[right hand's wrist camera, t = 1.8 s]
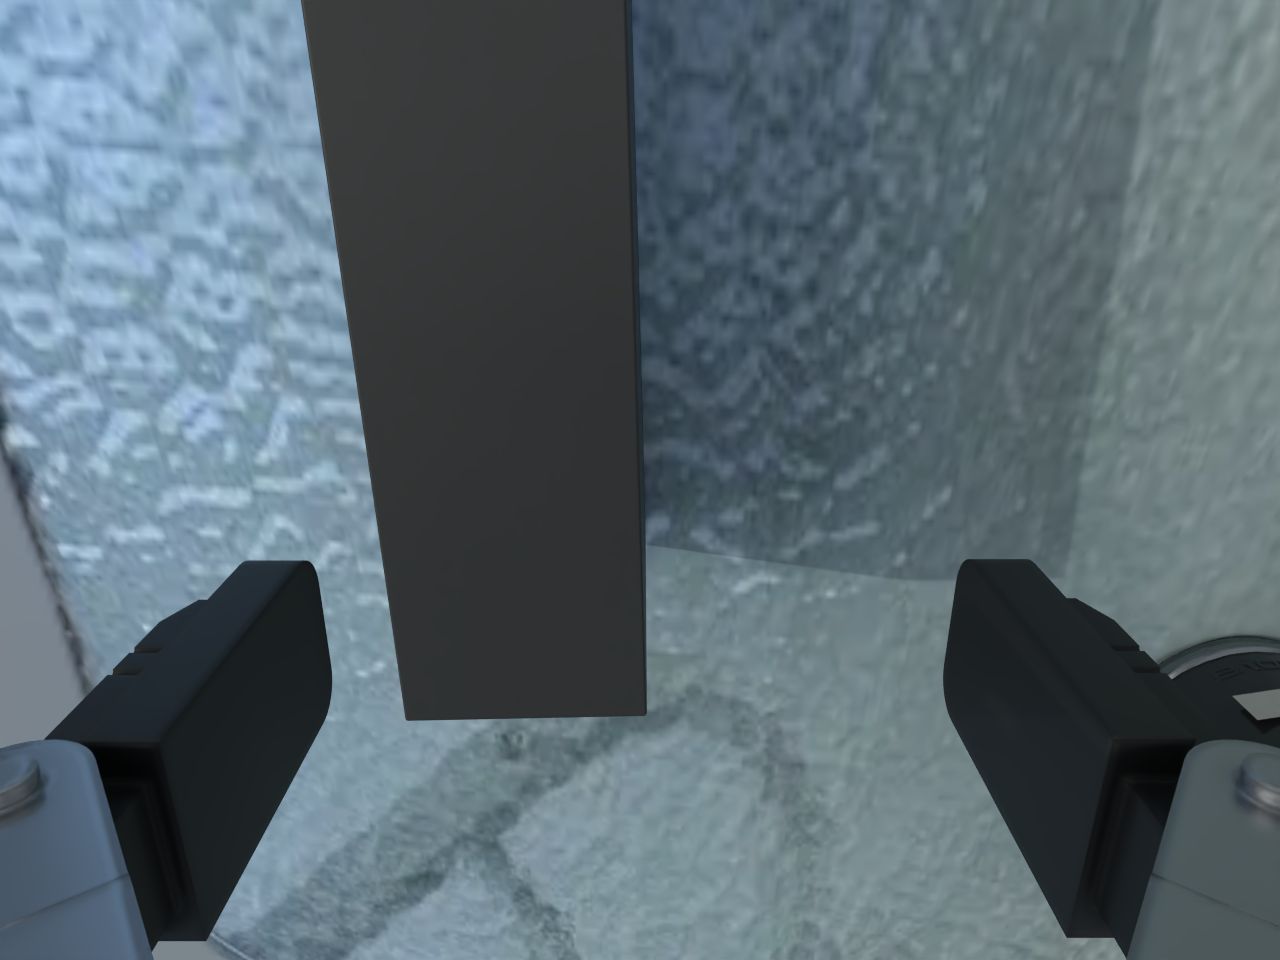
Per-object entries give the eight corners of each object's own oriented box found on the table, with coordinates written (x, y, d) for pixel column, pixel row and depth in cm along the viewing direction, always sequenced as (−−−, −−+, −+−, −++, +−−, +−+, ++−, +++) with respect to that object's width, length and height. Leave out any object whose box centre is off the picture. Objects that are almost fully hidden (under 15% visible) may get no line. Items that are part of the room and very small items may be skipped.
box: (645, 520, 34) (646, 716, 23) (485, 523, 34) (405, 721, 23) (622, -366, 25) (603, -819, 13) (399, -358, 25) (182, -800, 13)
